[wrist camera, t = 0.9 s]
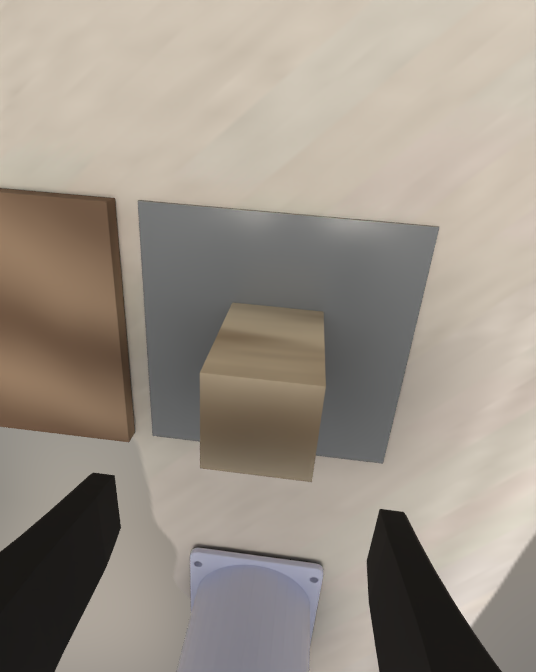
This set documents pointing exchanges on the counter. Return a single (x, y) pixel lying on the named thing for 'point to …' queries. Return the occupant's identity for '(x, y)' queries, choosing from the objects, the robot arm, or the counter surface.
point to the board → (62, 317)
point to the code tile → (287, 292)
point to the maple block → (263, 392)
